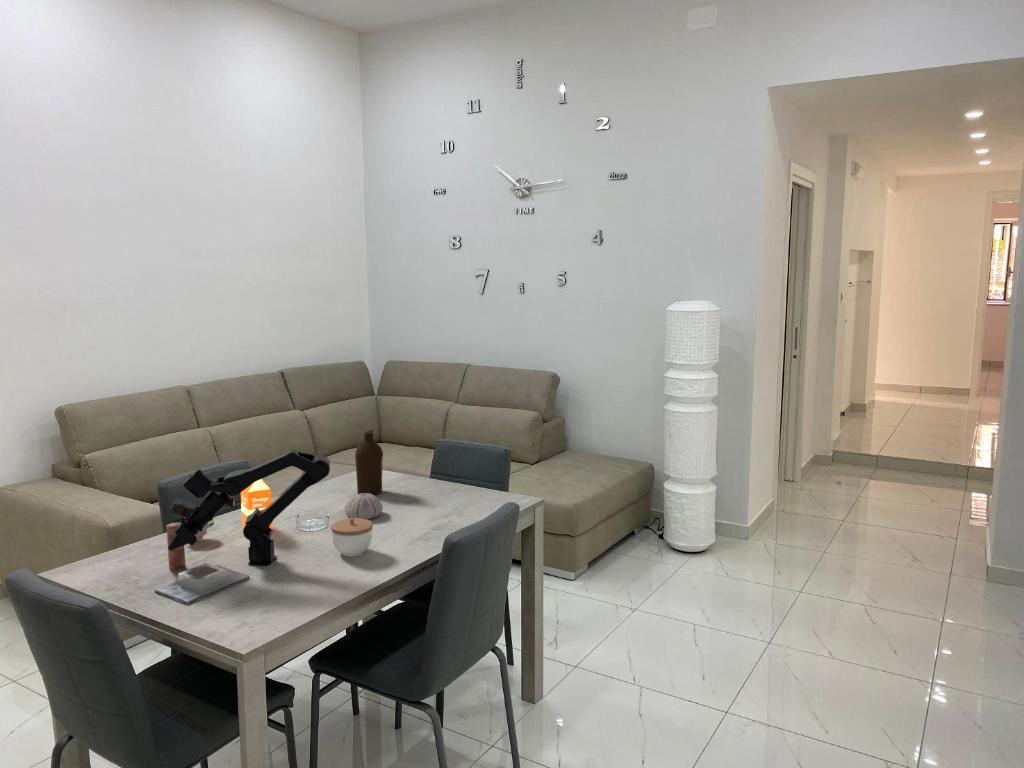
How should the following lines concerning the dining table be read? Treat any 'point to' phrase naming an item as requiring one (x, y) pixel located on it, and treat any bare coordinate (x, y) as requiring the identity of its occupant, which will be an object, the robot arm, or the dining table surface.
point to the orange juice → (255, 499)
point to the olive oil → (369, 465)
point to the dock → (201, 582)
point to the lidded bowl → (352, 536)
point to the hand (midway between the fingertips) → (170, 546)
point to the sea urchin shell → (363, 506)
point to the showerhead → (205, 530)
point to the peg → (177, 554)
